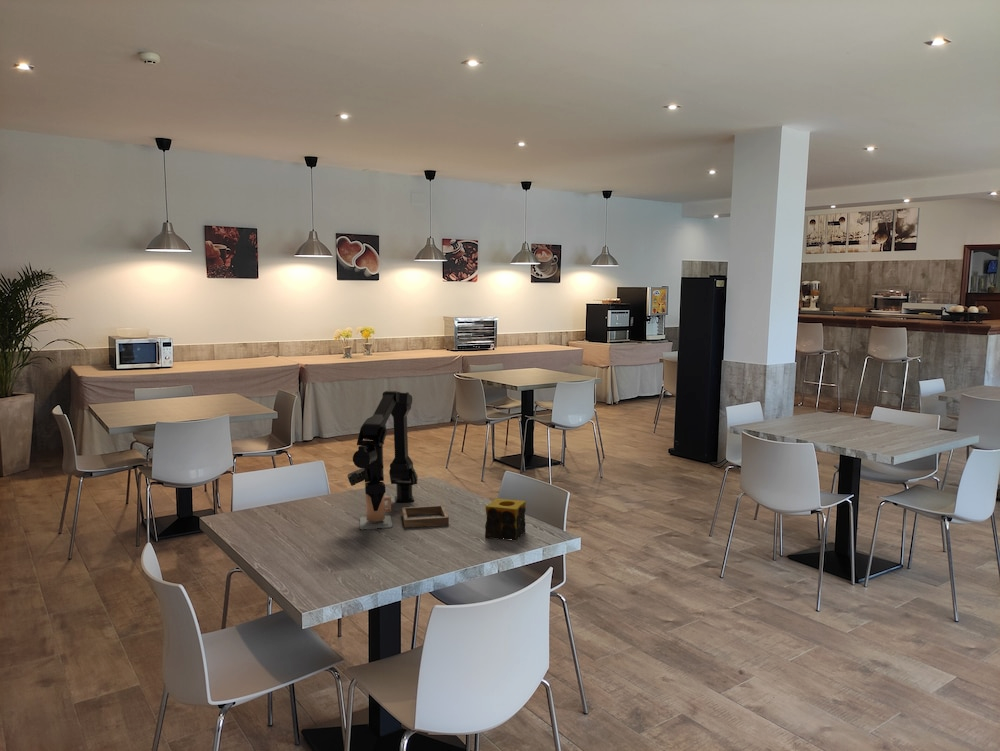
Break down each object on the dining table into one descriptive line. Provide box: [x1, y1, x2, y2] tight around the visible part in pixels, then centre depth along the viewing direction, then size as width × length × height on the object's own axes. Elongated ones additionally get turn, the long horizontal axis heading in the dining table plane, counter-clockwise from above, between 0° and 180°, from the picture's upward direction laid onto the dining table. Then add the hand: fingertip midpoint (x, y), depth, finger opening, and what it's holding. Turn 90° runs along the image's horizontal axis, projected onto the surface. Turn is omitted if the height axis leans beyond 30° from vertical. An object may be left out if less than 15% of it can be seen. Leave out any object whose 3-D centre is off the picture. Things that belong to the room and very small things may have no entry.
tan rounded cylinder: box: [365, 494, 392, 522], centre depth 234 cm, size 6×8×9 cm
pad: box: [359, 515, 393, 531], centre depth 234 cm, size 12×10×1 cm
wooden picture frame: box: [401, 504, 450, 529], centre depth 237 cm, size 14×14×2 cm
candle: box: [484, 498, 527, 541], centre depth 222 cm, size 10×10×10 cm
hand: (375, 508), depth 234 cm, fingers closed on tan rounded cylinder, 6 cm apart
